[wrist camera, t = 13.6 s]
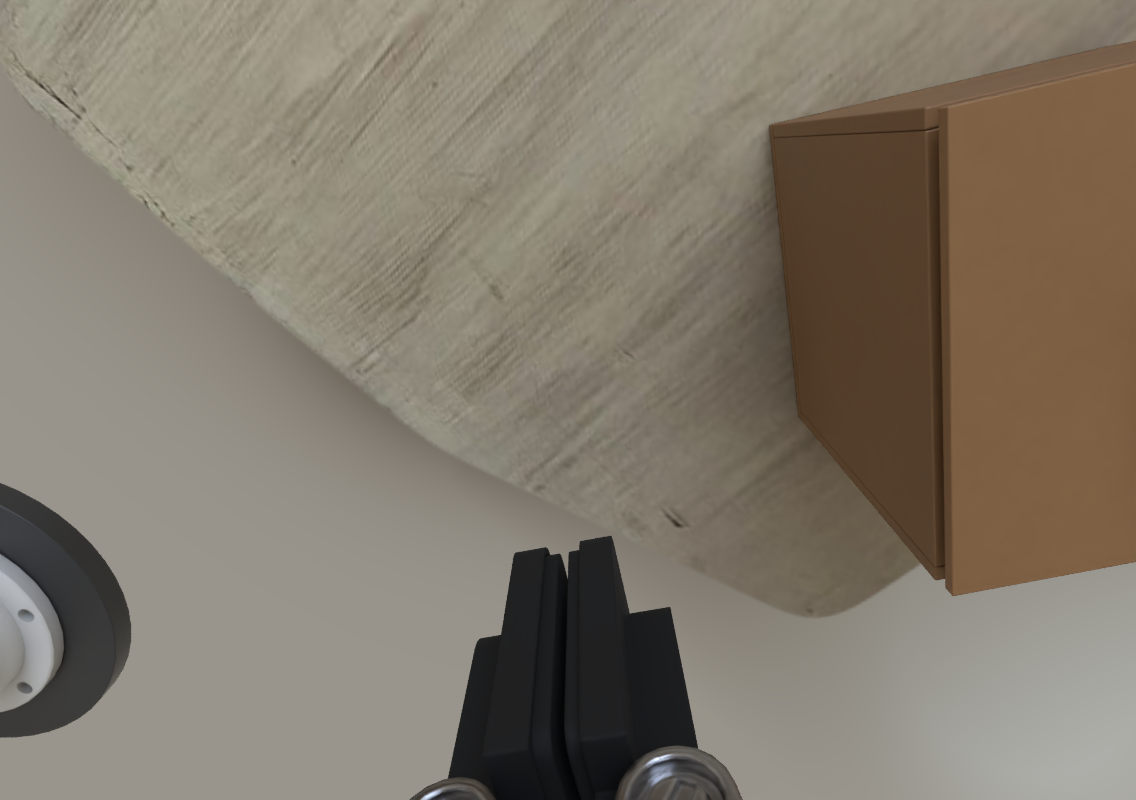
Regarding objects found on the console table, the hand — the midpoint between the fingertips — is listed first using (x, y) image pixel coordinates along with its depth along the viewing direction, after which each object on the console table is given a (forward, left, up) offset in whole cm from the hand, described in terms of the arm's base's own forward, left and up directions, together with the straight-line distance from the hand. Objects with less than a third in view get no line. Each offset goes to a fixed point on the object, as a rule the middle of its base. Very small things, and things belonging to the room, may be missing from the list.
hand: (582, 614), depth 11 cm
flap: (+12, 0, -7) cm, 14 cm away
